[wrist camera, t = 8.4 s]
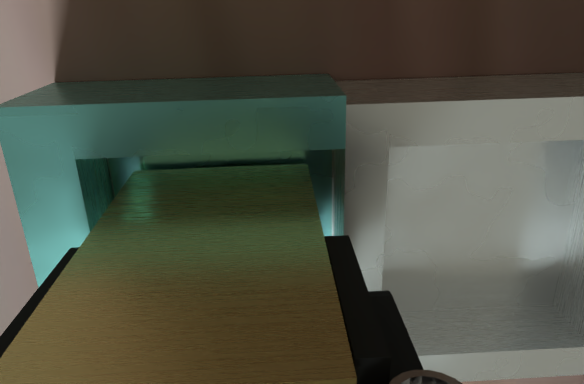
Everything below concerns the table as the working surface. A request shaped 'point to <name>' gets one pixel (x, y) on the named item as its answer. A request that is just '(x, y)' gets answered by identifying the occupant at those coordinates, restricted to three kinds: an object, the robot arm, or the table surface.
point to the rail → (356, 189)
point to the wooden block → (194, 288)
